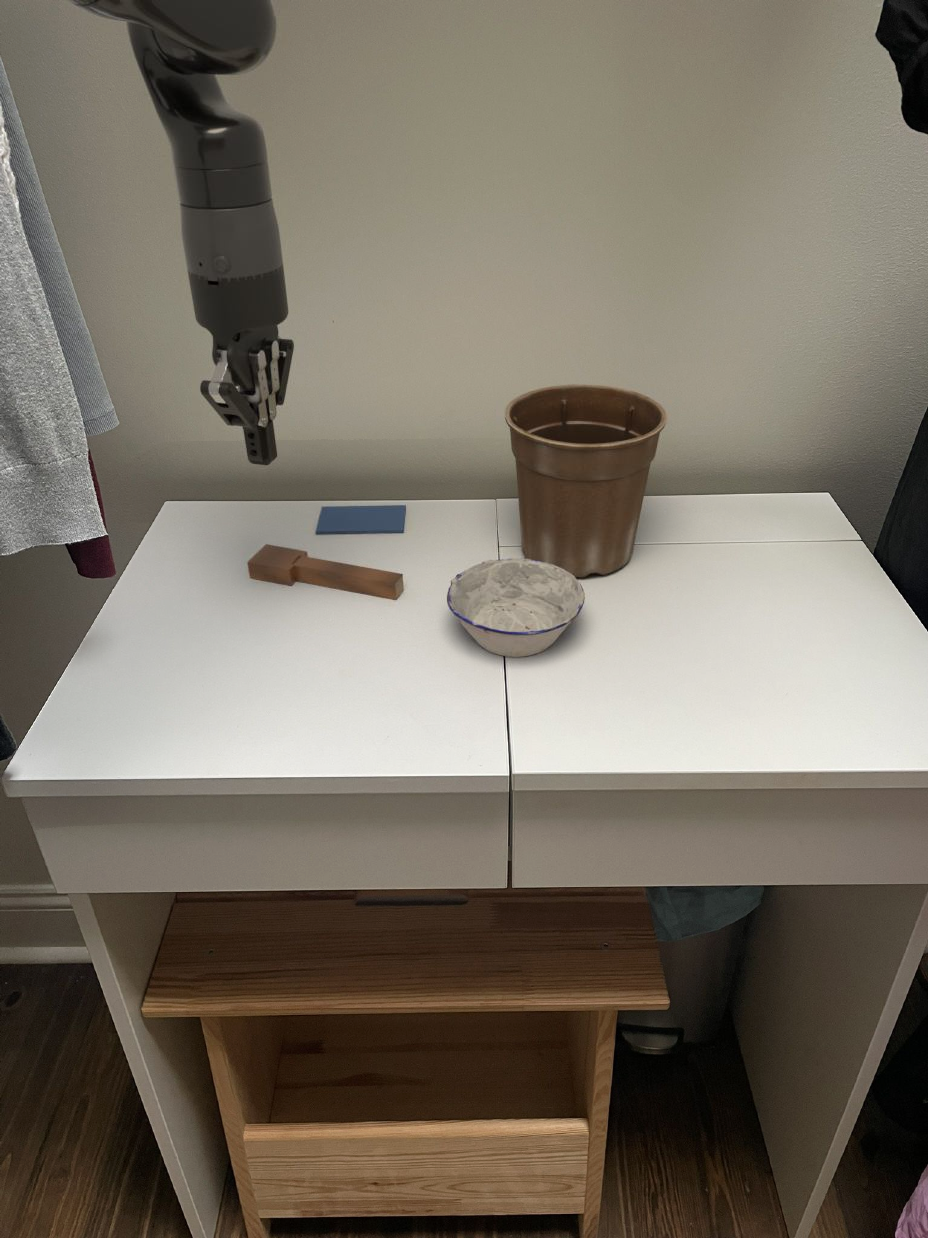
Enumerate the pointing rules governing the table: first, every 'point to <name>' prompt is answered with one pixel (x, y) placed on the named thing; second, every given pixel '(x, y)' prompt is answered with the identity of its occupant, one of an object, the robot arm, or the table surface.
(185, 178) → the robot arm
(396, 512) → the cloth
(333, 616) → the table surface
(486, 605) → the bowl
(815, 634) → the table surface
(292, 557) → the wooden mallet
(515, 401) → the plant pot
